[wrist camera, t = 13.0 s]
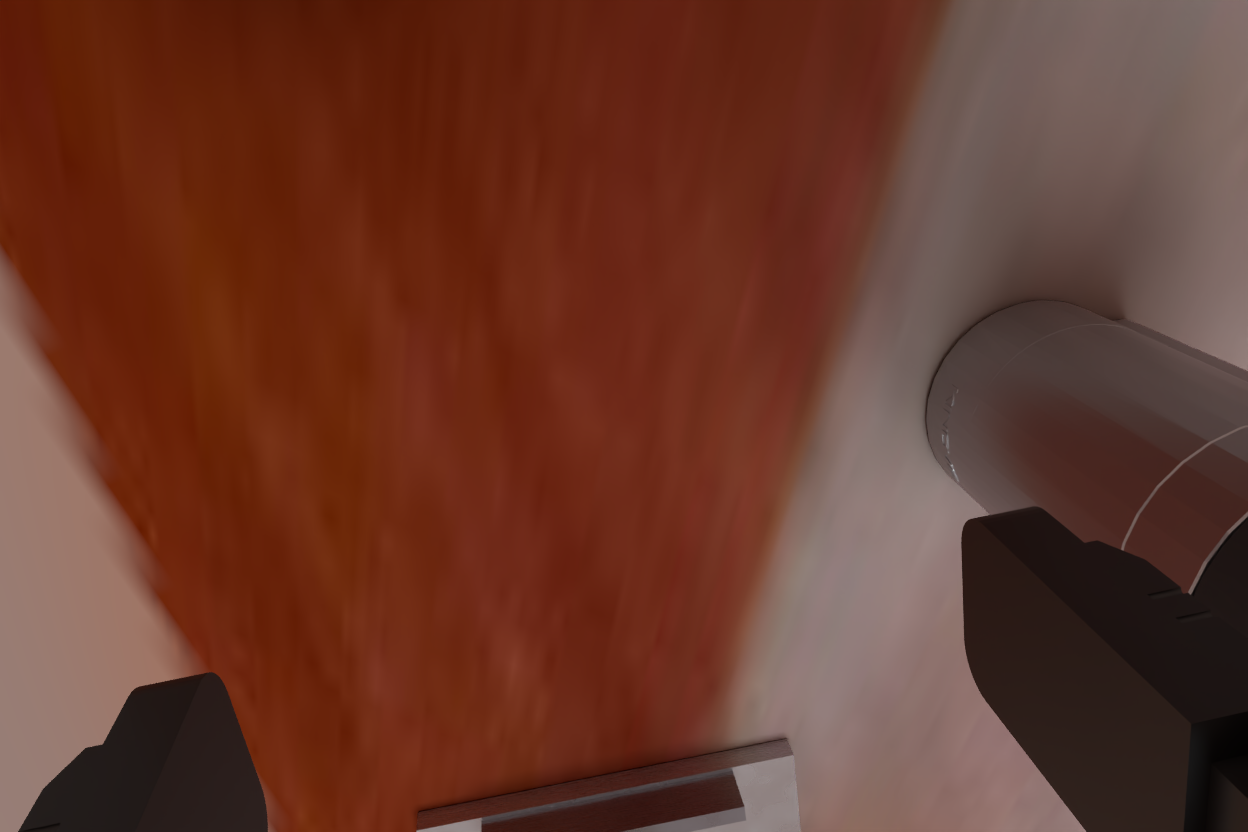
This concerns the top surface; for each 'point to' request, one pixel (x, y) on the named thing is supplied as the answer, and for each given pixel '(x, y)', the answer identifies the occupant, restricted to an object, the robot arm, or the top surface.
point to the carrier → (648, 799)
